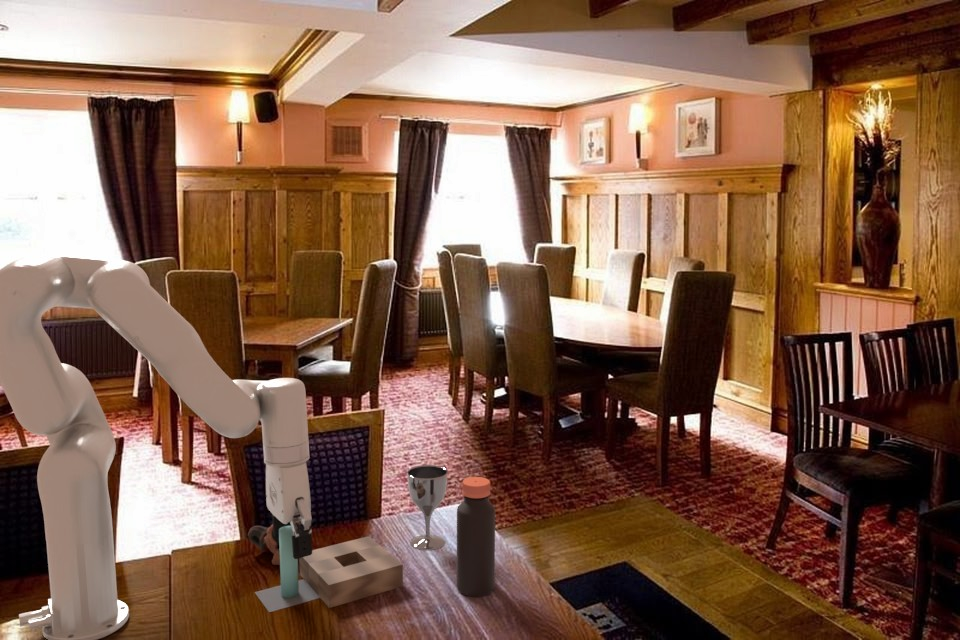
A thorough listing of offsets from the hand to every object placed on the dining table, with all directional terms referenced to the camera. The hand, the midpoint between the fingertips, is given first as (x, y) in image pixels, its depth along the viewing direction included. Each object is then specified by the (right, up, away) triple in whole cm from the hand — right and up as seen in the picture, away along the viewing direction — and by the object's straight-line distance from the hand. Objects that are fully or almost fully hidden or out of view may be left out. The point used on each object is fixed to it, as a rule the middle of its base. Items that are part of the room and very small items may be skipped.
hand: (292, 545), depth 136 cm
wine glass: (+22, -6, +23) cm, 32 cm away
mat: (-1, -9, +1) cm, 9 cm away
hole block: (+9, -8, +6) cm, 14 cm away
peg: (-1, -9, +1) cm, 9 cm away
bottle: (+32, -9, +5) cm, 33 cm away
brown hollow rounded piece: (-7, -7, +17) cm, 20 cm away
